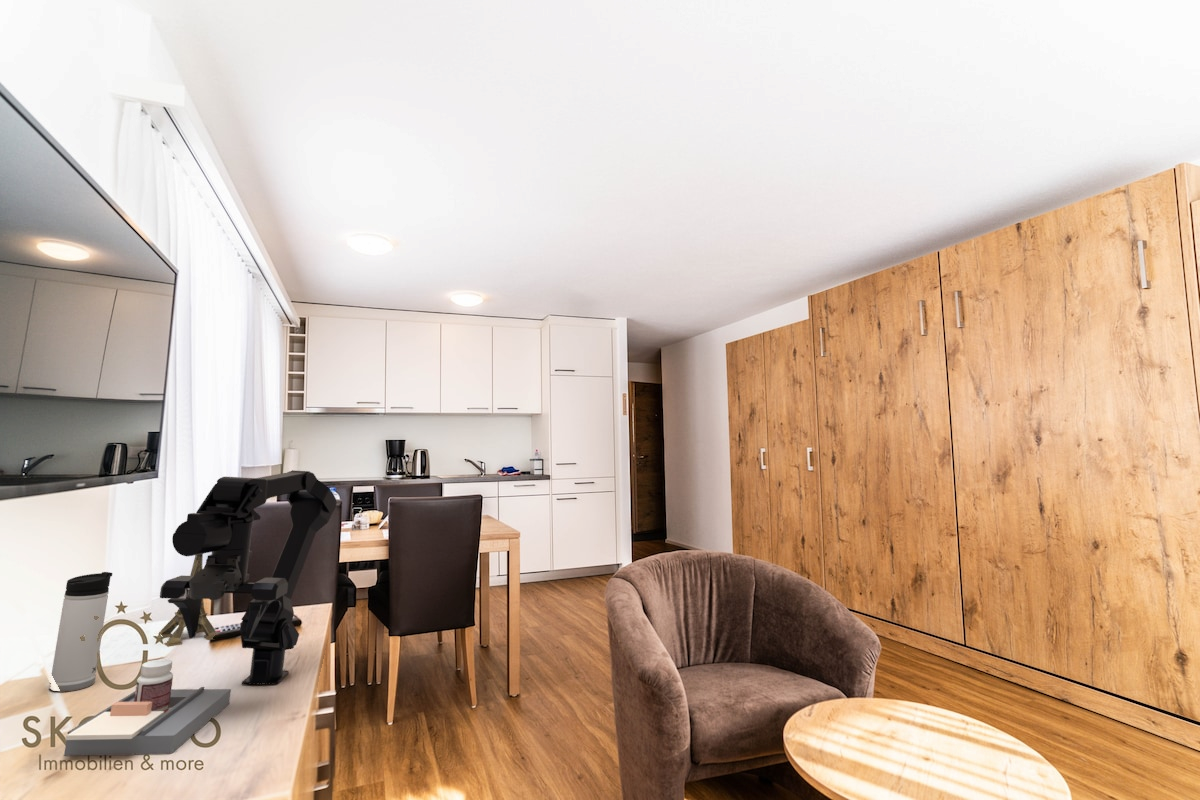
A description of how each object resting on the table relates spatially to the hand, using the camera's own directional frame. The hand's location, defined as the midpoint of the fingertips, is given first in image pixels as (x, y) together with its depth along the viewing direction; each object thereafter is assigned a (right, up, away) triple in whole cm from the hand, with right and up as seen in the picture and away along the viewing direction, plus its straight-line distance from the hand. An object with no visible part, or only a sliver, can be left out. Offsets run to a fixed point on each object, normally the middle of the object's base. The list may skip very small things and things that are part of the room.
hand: (220, 637), depth 101 cm
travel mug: (-31, -11, +5) cm, 33 cm away
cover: (-5, -7, -15) cm, 18 cm away
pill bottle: (-7, -10, -7) cm, 14 cm away
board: (-4, -11, -9) cm, 15 cm away
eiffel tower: (-32, -15, +36) cm, 50 cm away
